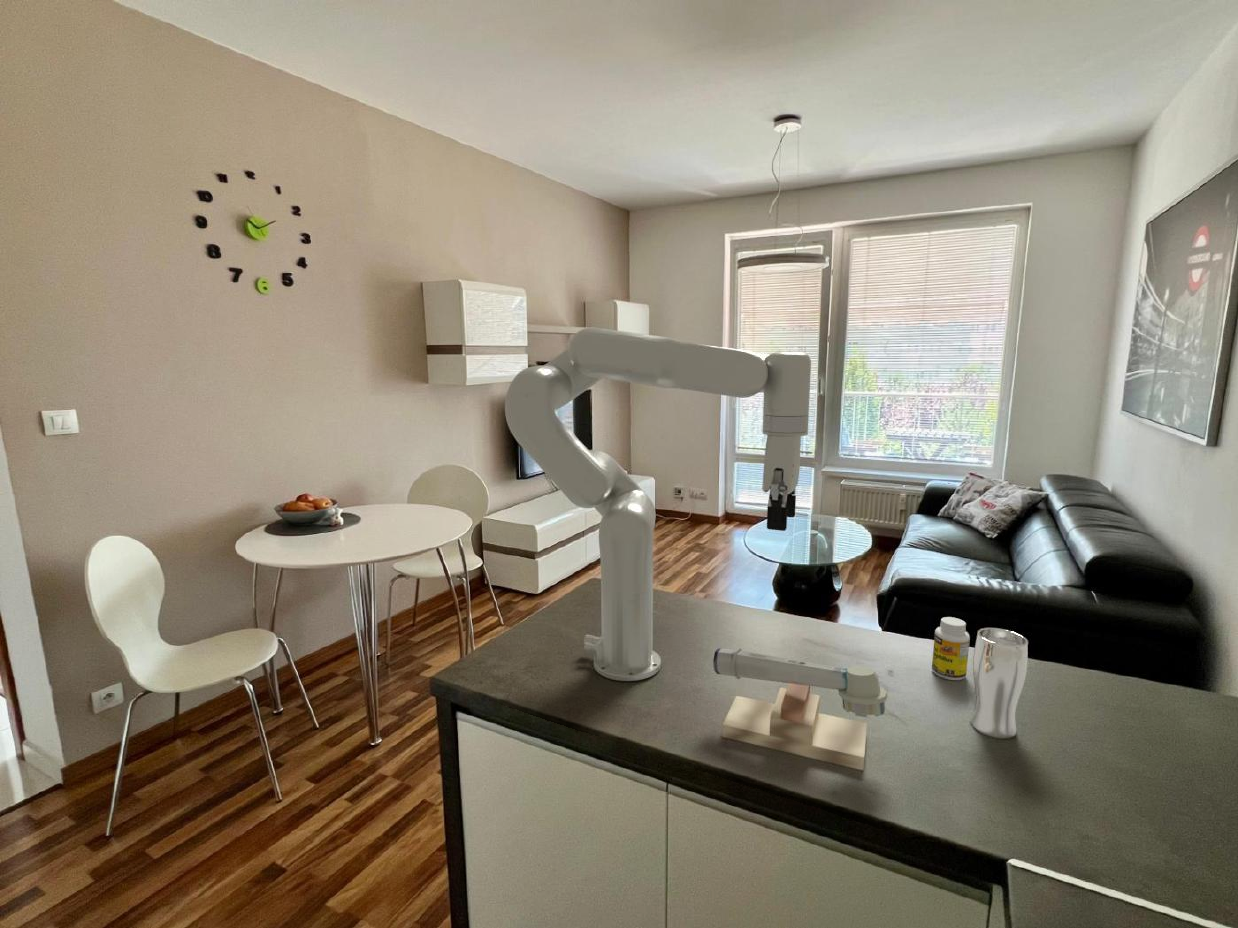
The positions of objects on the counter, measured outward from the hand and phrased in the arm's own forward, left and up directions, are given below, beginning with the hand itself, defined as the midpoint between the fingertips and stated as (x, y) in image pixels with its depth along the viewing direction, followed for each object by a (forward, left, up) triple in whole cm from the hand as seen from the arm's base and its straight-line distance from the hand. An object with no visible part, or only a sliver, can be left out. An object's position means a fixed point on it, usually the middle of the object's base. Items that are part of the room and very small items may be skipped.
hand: (781, 522), depth 109 cm
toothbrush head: (+6, -18, -22) cm, 29 cm away
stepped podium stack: (+6, -18, -28) cm, 34 cm away
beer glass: (+34, -4, -28) cm, 45 cm away
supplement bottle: (+29, +12, -28) cm, 42 cm away
